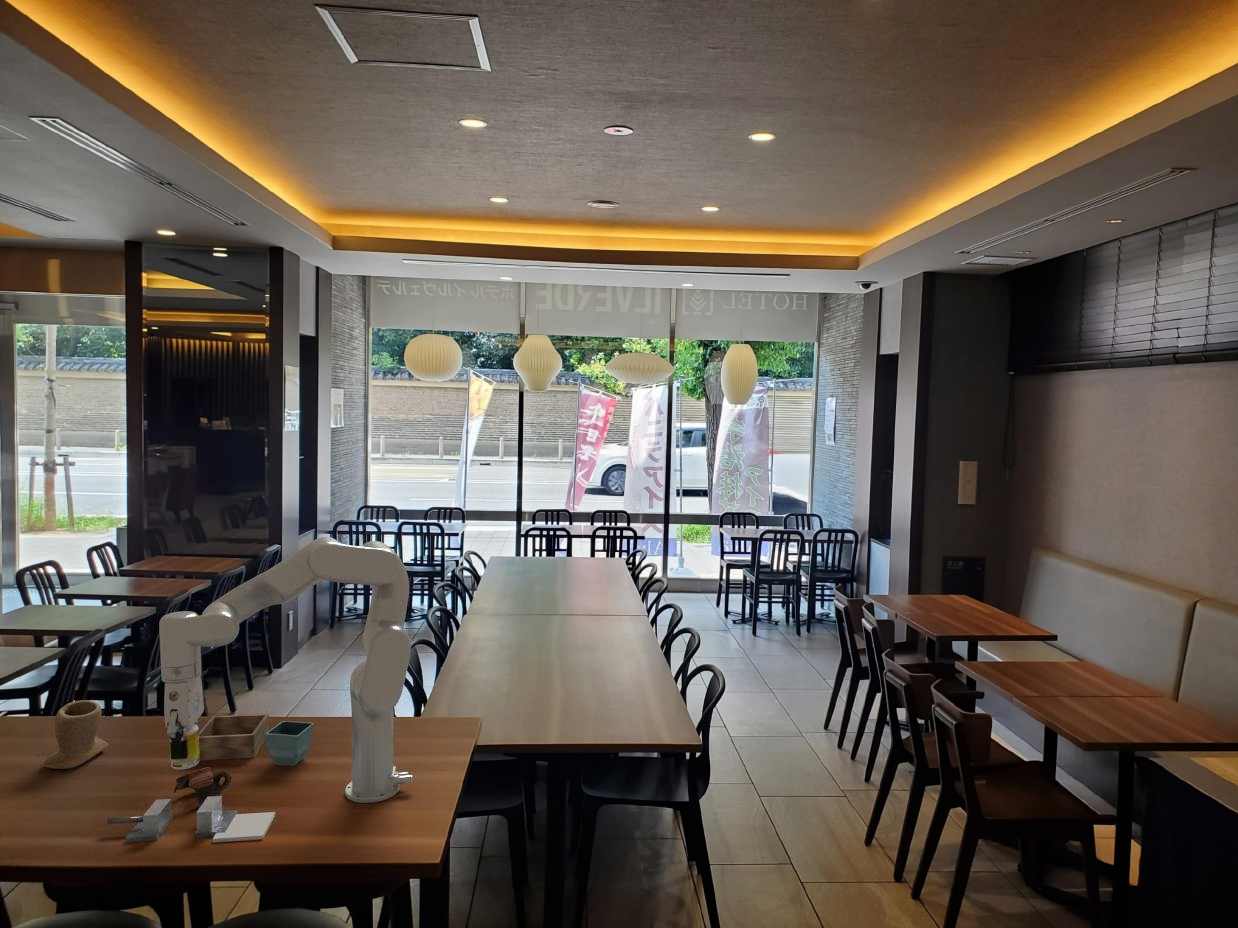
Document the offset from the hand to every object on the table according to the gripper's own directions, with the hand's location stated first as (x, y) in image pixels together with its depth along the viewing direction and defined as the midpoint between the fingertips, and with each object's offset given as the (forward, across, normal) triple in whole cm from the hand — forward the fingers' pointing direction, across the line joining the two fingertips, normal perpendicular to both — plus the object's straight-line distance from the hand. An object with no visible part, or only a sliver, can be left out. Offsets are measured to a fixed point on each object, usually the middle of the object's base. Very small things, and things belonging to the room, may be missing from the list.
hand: (184, 751), depth 173 cm
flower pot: (+18, +31, -14) cm, 38 cm away
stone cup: (+17, +39, +39) cm, 57 cm away
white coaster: (+17, -2, -12) cm, 21 cm away
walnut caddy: (+17, +42, +3) cm, 45 cm away
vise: (+17, 0, +3) cm, 17 cm away
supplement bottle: (+3, 0, 0) cm, 3 cm away
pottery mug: (+17, +13, +1) cm, 22 cm away
